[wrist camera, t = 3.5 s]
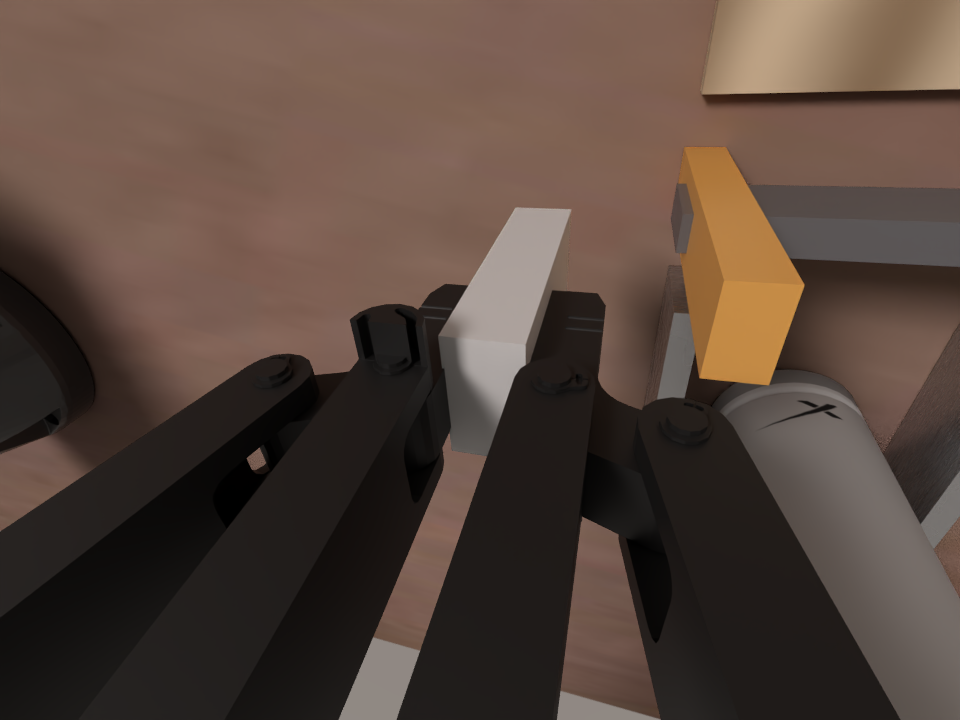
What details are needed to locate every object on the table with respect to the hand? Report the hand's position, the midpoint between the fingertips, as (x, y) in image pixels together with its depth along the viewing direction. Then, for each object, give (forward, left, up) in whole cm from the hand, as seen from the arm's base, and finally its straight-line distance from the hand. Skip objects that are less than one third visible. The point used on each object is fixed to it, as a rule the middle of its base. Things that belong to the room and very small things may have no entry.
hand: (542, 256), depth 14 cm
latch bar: (+10, 0, -8) cm, 13 cm away
